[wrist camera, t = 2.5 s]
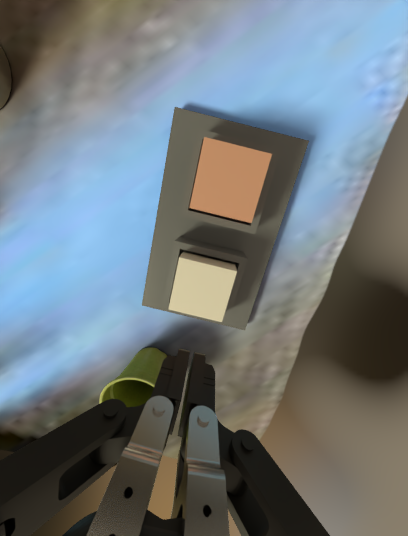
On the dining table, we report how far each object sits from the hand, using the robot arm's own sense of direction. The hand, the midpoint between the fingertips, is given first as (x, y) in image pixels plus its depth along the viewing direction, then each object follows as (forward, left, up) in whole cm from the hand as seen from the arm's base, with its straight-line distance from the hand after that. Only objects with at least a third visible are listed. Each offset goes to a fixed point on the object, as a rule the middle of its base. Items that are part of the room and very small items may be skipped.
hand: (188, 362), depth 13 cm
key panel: (0, +6, -19) cm, 20 cm away
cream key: (0, 0, -15) cm, 15 cm away
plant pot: (-5, -18, -19) cm, 27 cm away
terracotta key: (0, +12, -15) cm, 19 cm away
